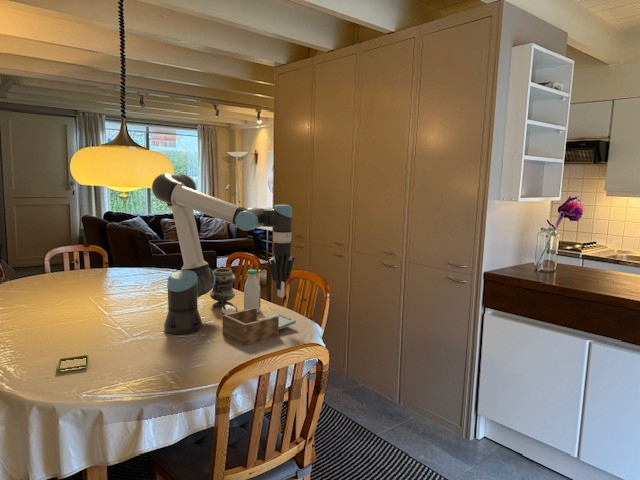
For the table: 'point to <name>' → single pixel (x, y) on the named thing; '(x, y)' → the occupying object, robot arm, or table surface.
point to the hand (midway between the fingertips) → (280, 296)
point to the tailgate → (282, 320)
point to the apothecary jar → (223, 287)
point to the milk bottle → (252, 291)
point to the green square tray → (73, 359)
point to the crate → (249, 326)
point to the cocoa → (227, 307)
